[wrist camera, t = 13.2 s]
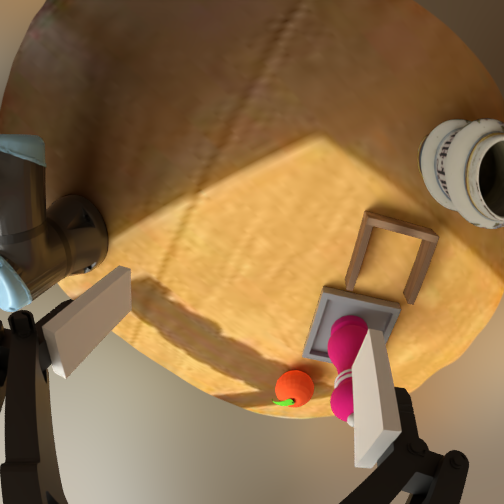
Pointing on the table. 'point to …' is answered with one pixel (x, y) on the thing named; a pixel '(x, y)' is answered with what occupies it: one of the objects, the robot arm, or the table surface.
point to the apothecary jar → (466, 169)
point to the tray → (344, 304)
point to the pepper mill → (345, 362)
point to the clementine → (294, 389)
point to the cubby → (397, 226)
